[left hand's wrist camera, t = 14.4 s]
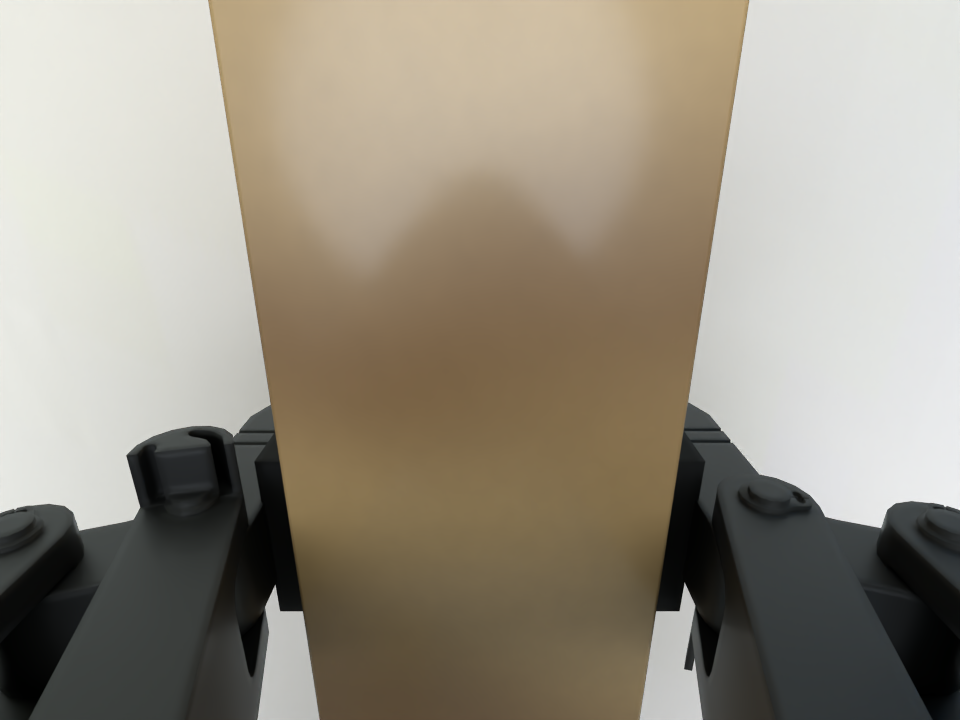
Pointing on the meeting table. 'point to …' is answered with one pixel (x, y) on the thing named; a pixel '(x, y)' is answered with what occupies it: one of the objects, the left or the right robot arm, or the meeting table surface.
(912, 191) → the meeting table surface
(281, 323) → the bar
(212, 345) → the meeting table surface
